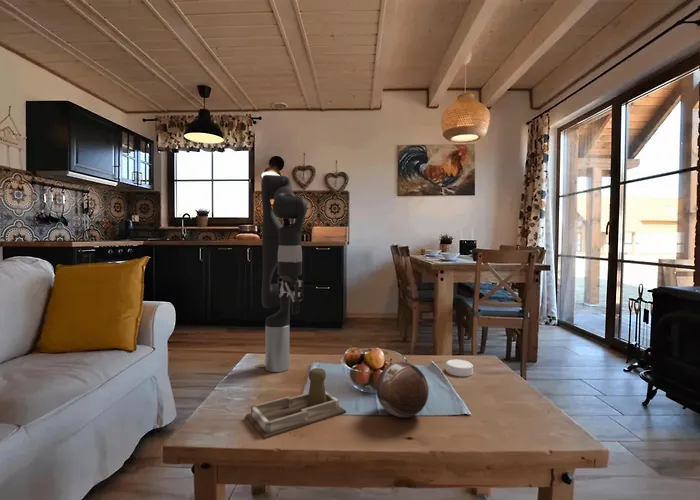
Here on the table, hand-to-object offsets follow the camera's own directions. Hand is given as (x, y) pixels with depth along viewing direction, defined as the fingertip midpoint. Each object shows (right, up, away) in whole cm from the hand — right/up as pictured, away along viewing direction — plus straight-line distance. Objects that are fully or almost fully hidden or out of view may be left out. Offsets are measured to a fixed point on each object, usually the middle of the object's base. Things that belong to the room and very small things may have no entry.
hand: (289, 311), depth 114 cm
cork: (+9, -28, -4) cm, 30 cm away
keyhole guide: (+4, -28, -8) cm, 30 cm away
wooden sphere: (+34, -29, -8) cm, 45 cm away
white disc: (+61, -28, +26) cm, 72 cm away
